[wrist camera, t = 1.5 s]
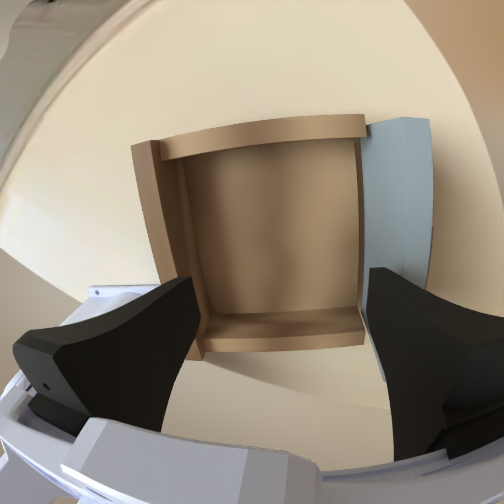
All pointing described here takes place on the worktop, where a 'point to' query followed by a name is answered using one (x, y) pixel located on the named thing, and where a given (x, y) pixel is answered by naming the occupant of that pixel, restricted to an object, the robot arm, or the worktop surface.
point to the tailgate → (397, 201)
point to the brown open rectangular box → (260, 230)
